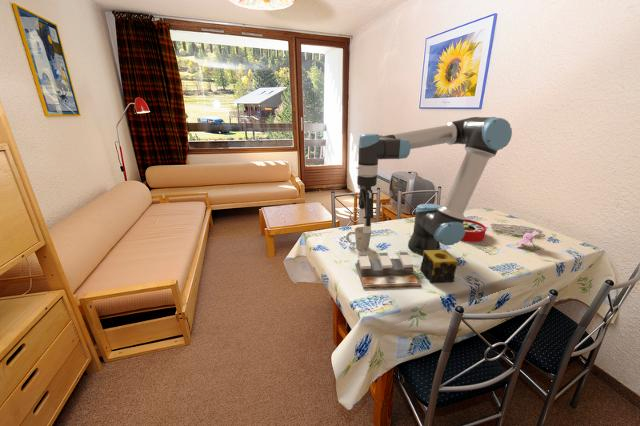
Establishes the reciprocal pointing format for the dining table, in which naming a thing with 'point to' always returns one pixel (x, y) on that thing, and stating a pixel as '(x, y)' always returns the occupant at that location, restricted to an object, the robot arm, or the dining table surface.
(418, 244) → the robot arm
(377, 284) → the switch board
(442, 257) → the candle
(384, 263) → the rocker middle
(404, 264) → the block
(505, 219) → the dining table surface
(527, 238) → the lily
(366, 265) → the block
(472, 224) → the toy clock
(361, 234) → the mug
